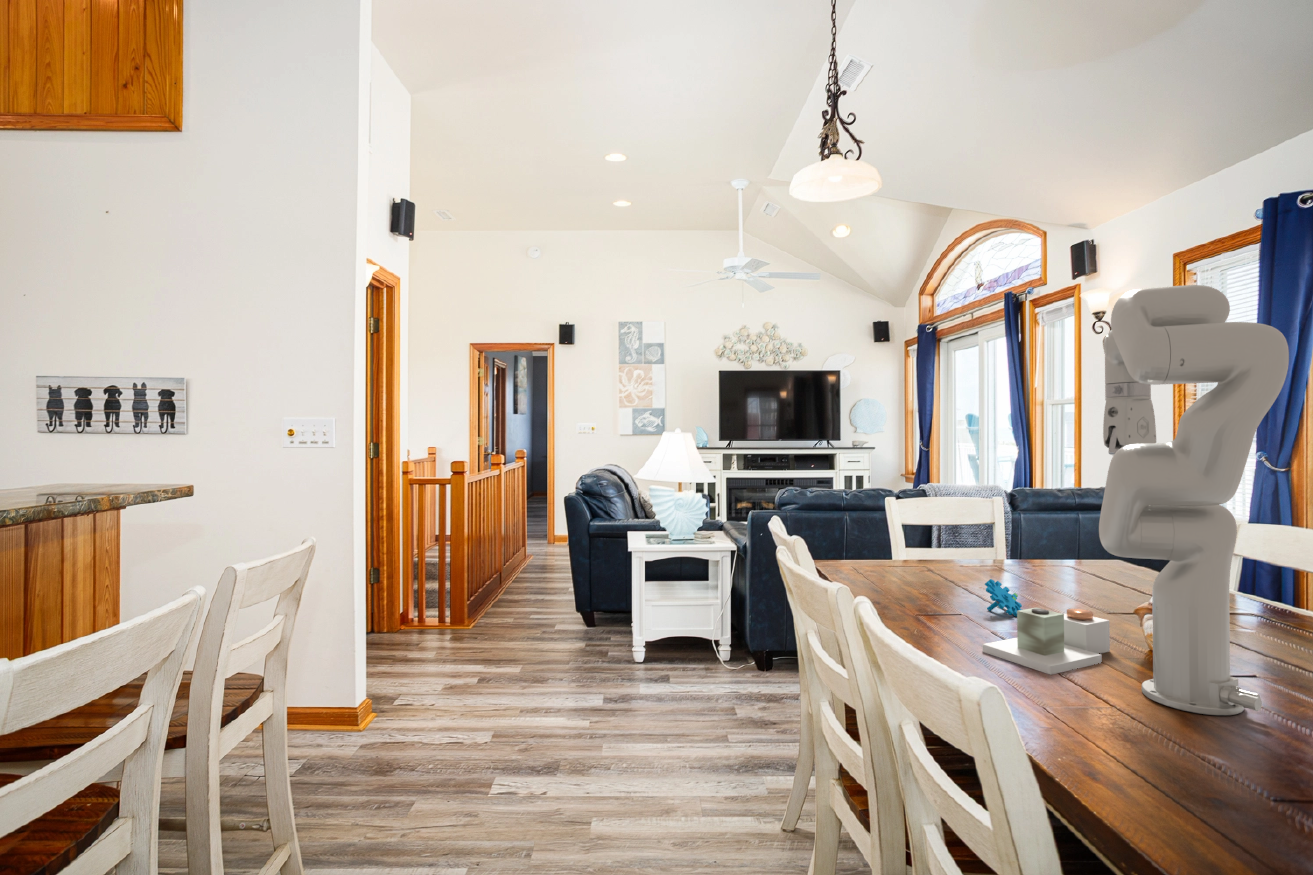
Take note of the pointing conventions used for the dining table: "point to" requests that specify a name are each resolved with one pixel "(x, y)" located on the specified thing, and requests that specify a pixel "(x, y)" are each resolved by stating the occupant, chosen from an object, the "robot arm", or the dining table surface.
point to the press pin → (1080, 614)
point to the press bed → (1078, 647)
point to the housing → (1040, 631)
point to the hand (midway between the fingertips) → (1128, 483)
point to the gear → (1002, 598)
